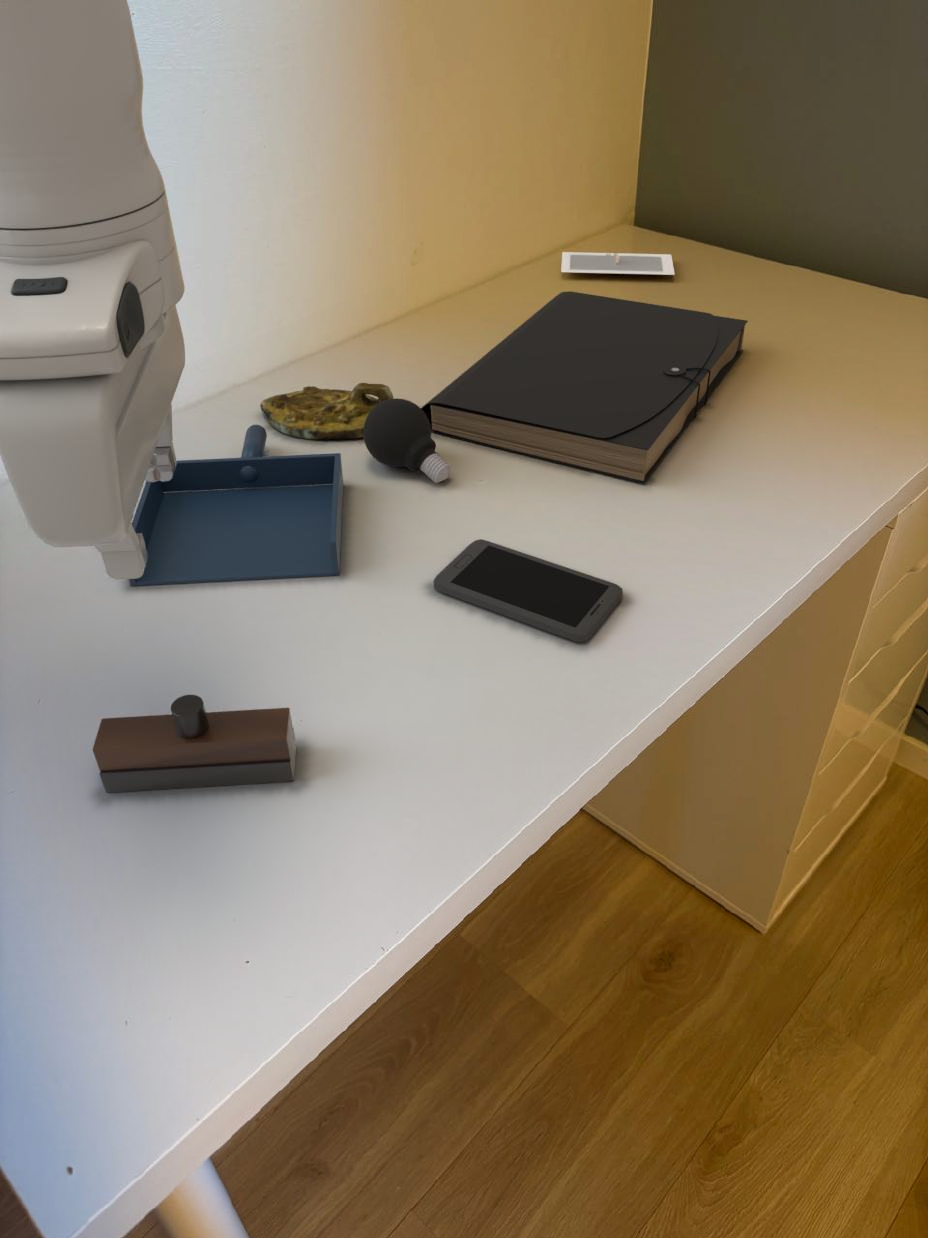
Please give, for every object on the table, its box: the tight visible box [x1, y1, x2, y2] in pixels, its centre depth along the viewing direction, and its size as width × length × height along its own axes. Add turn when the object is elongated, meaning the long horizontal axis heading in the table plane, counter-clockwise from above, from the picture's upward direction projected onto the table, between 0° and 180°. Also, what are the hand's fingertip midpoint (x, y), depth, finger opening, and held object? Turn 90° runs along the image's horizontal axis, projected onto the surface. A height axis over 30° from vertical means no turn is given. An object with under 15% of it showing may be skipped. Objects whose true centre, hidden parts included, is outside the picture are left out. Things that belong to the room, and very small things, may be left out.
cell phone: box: [432, 538, 623, 643], centre depth 79 cm, size 7×14×1 cm, turn 58°
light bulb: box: [363, 398, 451, 484], centre depth 94 cm, size 6×6×10 cm
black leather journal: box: [420, 290, 749, 484], centre depth 107 cm, size 33×4×24 cm
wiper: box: [92, 694, 297, 794], centre depth 64 cm, size 3×12×6 cm, turn 94°
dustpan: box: [128, 424, 344, 587], centre depth 89 cm, size 22×17×3 cm
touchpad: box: [560, 251, 676, 276], centre depth 135 cm, size 8×15×2 cm, turn 84°
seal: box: [259, 382, 394, 440], centre depth 102 cm, size 9×5×15 cm
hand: (146, 520), depth 54 cm, fingers open, 8 cm apart
